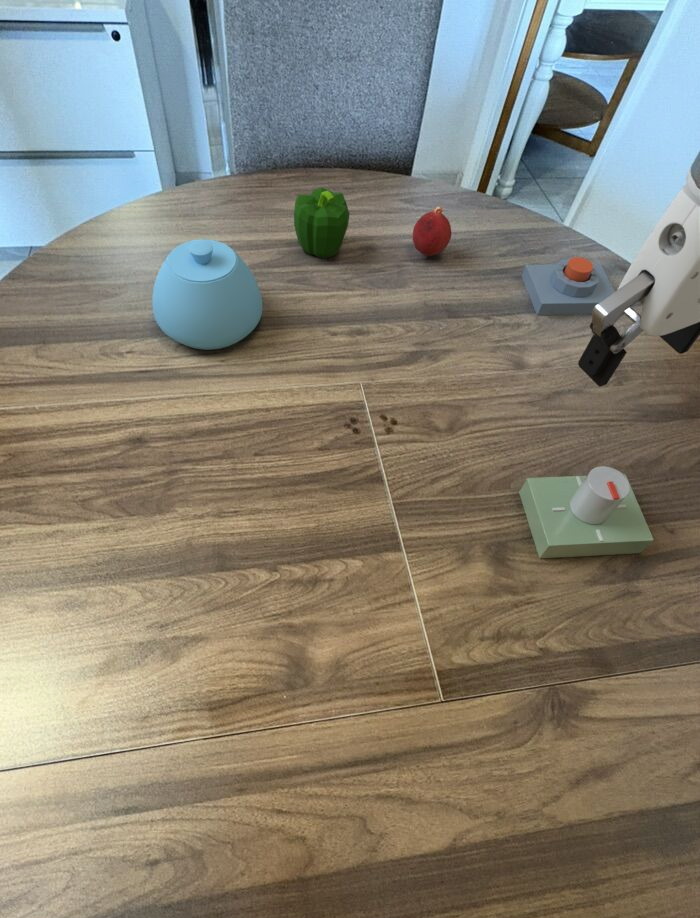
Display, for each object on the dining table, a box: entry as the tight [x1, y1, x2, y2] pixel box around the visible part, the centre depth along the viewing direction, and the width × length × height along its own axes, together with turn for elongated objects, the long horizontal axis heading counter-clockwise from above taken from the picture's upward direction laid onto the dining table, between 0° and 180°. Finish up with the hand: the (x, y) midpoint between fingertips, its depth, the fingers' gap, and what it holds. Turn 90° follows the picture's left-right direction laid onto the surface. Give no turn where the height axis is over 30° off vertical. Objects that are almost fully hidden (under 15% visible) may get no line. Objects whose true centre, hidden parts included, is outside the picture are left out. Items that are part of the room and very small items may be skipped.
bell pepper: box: [293, 187, 350, 259], centre depth 93 cm, size 8×8×10 cm
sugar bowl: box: [151, 238, 264, 351], centre depth 82 cm, size 15×15×12 cm
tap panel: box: [518, 473, 655, 559], centre depth 70 cm, size 12×9×3 cm
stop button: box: [564, 256, 594, 282], centre depth 90 cm, size 4×4×2 cm
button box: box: [521, 258, 616, 316], centre depth 92 cm, size 12×9×4 cm
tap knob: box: [570, 465, 631, 524], centre depth 67 cm, size 4×4×5 cm
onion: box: [412, 206, 453, 257], centre depth 94 cm, size 6×6×8 cm
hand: (632, 359), depth 56 cm, fingers open, 9 cm apart
